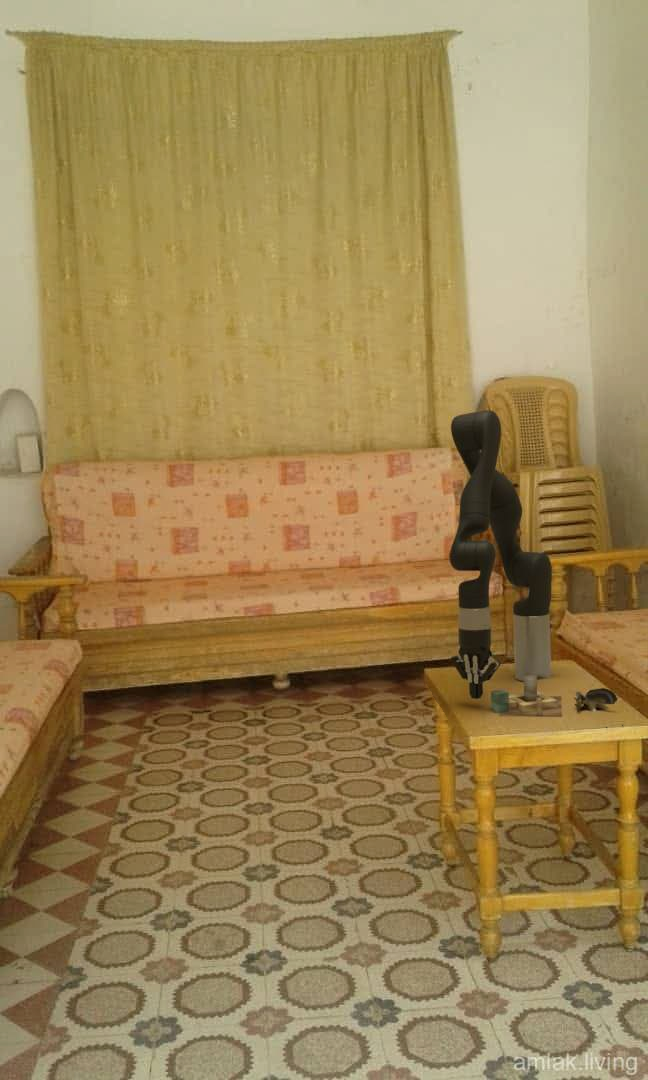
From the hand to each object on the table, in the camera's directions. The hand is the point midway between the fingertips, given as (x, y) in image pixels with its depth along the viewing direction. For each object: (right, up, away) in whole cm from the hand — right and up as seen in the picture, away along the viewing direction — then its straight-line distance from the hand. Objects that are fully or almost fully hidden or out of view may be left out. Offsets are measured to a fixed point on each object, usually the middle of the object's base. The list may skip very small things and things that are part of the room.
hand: (476, 697), depth 247 cm
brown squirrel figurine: (+26, -3, -7) cm, 27 cm away
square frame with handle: (+10, -2, -2) cm, 11 cm away
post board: (+13, -3, -1) cm, 13 cm away
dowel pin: (+13, -3, -9) cm, 16 cm away
